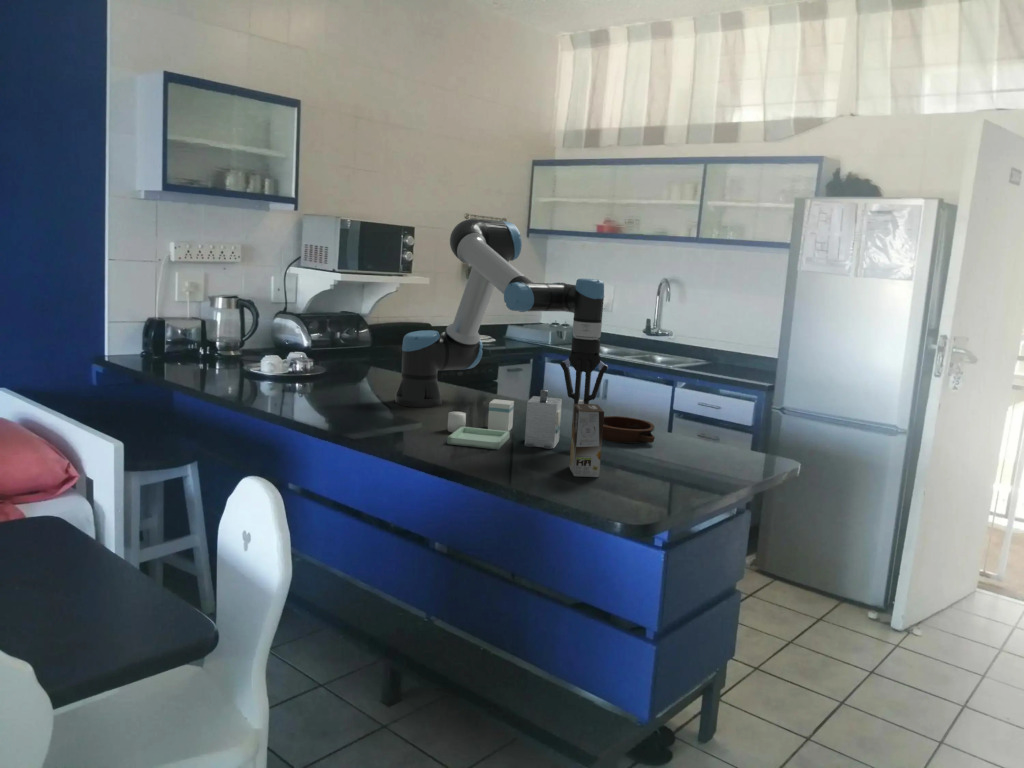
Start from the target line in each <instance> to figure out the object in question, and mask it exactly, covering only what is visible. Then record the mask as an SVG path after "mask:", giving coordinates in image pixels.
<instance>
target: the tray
mask: <svg viewBox="0 0 1024 768" xmlns="http://www.w3.org/2000/svg"><path fill="white" fill-rule="evenodd" d="M510 436H511V431H500V430H491V429H488V428H481V427H471V426H465V427H460V428H459V429H458V430H456V431H455V432H451V434H450V435H448V436H447V438H446V439H447V442H446V444H447V445H454V446H455V445H456V446H463V447H471V448H481V449H491V450H500V449H501V448H502V447H503V446H504V445H505V444H506V443H507V441H508V440H509V439H510V438H511V437H510Z"/></svg>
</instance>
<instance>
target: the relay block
mask: <svg viewBox="0 0 1024 768" xmlns="http://www.w3.org/2000/svg"><path fill="white" fill-rule="evenodd" d="M514 409H515V400H507V399H506V400H505V399H498V398H497V399H496V398H494V399H492V400H491V401H490V402H489V403H488V419H487V420H488V422H487V429H491V430H500V431H509V432H511V429H513V424H514V422H513V421H514Z"/></svg>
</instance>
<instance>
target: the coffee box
mask: <svg viewBox="0 0 1024 768" xmlns="http://www.w3.org/2000/svg"><path fill="white" fill-rule="evenodd" d="M604 416H605V411H604V410H603V409H602V407H600V405H599V404H593V403H589V404H574V403H573V405H572V418H571V419H572V421H571V434H570V435H571V436H570V447H569V448H570V450H569V463H568V464H569V465H568V467H569V469H570V471H571V473H572V475H573V477H583V478H584V477H585V478H587V477H588V478H599V477H600V471H601V469H600V468H601V459H602V458H601V457H602V444H603V443H602V442H603V439H602V434H603V422H604Z"/></svg>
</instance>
